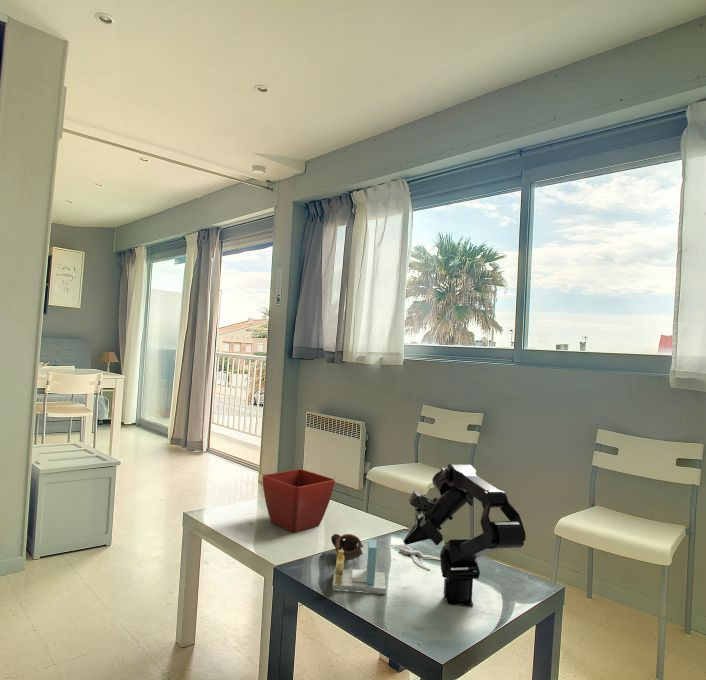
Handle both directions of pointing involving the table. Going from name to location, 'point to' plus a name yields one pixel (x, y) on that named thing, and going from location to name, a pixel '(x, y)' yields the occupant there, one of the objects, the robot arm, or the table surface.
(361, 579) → the clip bar
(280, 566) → the table surface
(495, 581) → the table surface
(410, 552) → the pliers
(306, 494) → the plant pot
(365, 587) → the block holder base
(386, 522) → the table surface
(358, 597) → the table surface
